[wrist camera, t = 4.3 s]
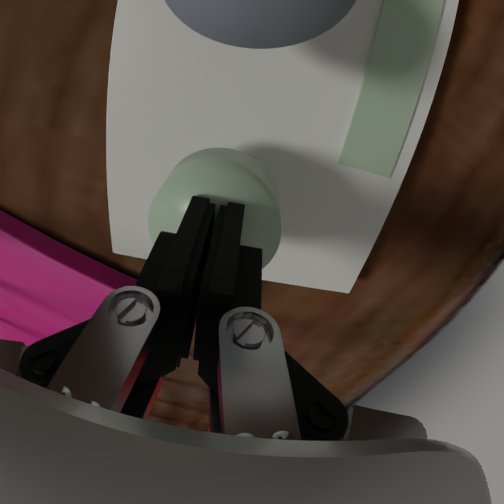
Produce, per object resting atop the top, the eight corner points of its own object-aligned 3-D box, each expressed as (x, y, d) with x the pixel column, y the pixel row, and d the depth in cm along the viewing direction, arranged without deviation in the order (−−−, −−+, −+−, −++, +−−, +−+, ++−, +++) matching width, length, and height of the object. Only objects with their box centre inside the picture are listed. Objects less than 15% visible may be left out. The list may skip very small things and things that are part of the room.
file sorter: (183, 294, 20) (130, 549, 7) (122, 407, 34) (98, 516, 21) (-24, 192, 15) (-151, 358, 3) (6, 351, 29) (-35, 450, 17)
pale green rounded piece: (178, 128, 11) (149, 159, 9) (289, 147, 12) (296, 185, 9) (171, 220, 14) (149, 270, 11) (266, 236, 14) (265, 291, 12)
